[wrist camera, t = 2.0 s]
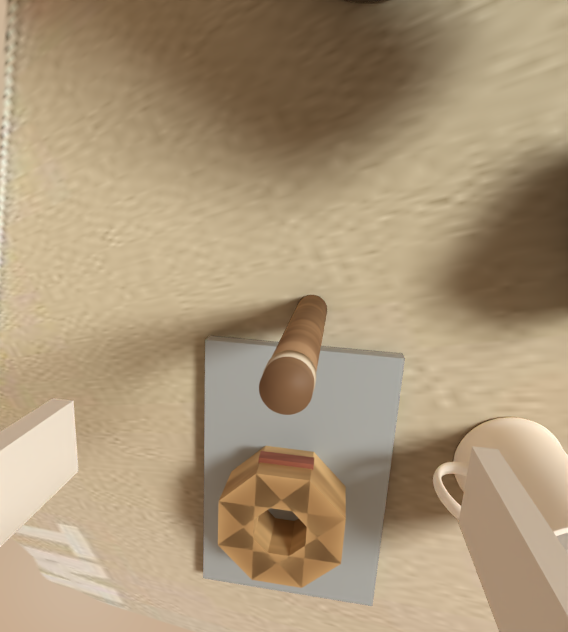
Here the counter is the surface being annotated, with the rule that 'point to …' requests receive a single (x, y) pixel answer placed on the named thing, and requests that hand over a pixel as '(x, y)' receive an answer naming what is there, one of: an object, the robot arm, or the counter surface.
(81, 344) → the counter surface
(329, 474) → the bead
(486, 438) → the mug
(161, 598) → the counter surface
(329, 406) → the board
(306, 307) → the brown cigar
